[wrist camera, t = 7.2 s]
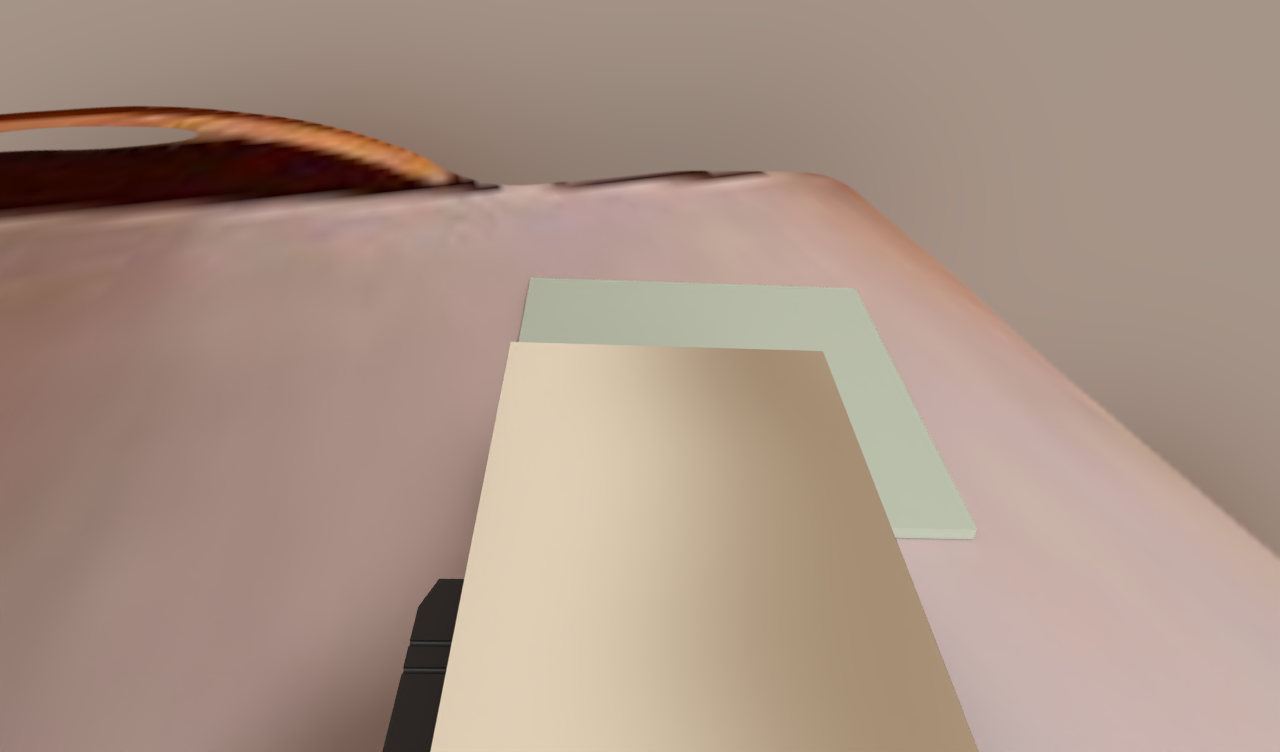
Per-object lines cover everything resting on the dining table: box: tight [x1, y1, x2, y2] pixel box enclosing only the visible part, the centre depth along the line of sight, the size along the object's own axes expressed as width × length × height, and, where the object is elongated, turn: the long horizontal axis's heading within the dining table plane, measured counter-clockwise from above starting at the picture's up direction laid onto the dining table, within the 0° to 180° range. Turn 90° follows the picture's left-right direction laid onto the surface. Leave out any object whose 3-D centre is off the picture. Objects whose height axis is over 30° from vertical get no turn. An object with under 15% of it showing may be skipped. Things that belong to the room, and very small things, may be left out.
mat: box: [519, 277, 977, 539], centre depth 28 cm, size 14×14×1 cm
